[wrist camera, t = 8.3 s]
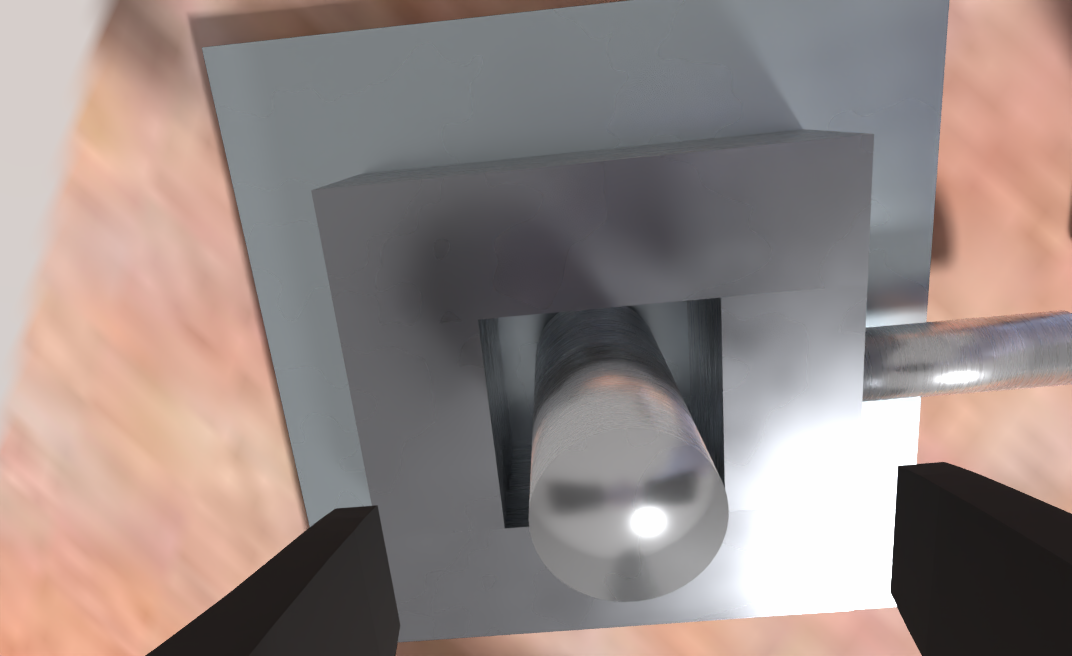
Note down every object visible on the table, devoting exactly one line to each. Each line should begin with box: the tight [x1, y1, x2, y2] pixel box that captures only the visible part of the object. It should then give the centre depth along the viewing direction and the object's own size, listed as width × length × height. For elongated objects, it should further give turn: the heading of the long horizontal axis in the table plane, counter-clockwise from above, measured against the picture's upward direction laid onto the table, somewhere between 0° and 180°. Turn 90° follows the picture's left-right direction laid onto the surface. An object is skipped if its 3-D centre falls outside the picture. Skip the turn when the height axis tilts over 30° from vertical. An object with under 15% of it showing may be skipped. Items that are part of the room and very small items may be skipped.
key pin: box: [529, 306, 729, 602], centre depth 14 cm, size 3×3×7 cm
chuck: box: [202, 0, 1072, 642], centre depth 16 cm, size 18×16×4 cm
